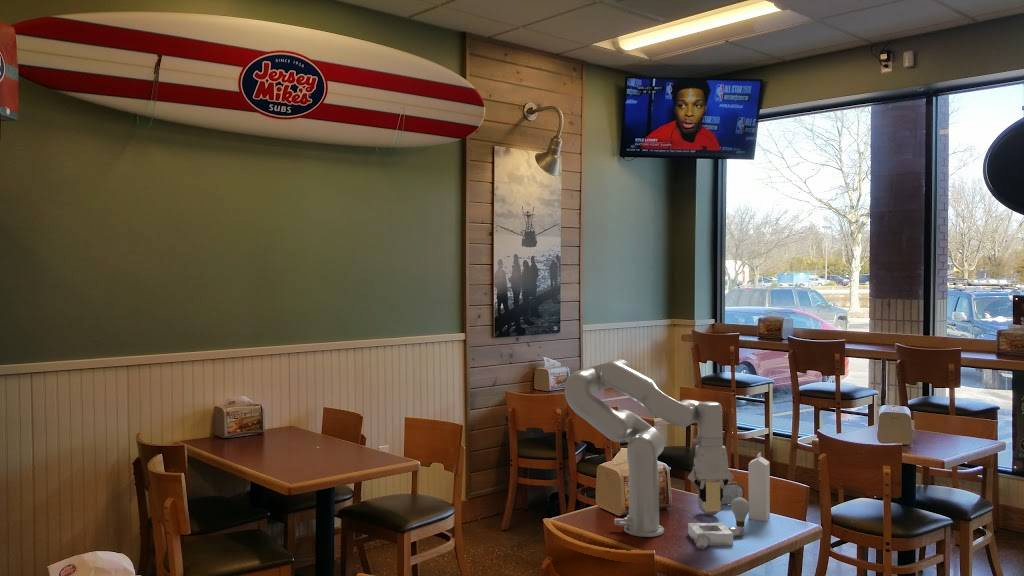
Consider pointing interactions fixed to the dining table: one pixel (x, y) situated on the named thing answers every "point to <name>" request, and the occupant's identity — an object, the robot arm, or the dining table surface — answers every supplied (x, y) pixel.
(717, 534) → the white square socket base
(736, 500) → the light bulb
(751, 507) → the milk
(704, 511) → the donut
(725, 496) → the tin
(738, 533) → the shaft right
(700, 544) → the shaft left
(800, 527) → the dining table surface
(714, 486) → the block
